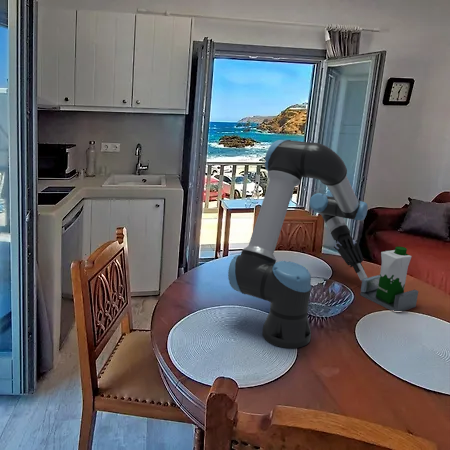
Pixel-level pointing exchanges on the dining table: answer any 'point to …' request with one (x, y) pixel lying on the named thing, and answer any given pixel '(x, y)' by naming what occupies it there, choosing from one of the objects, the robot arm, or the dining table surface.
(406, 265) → the soya milk
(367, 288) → the block
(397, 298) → the vise base
